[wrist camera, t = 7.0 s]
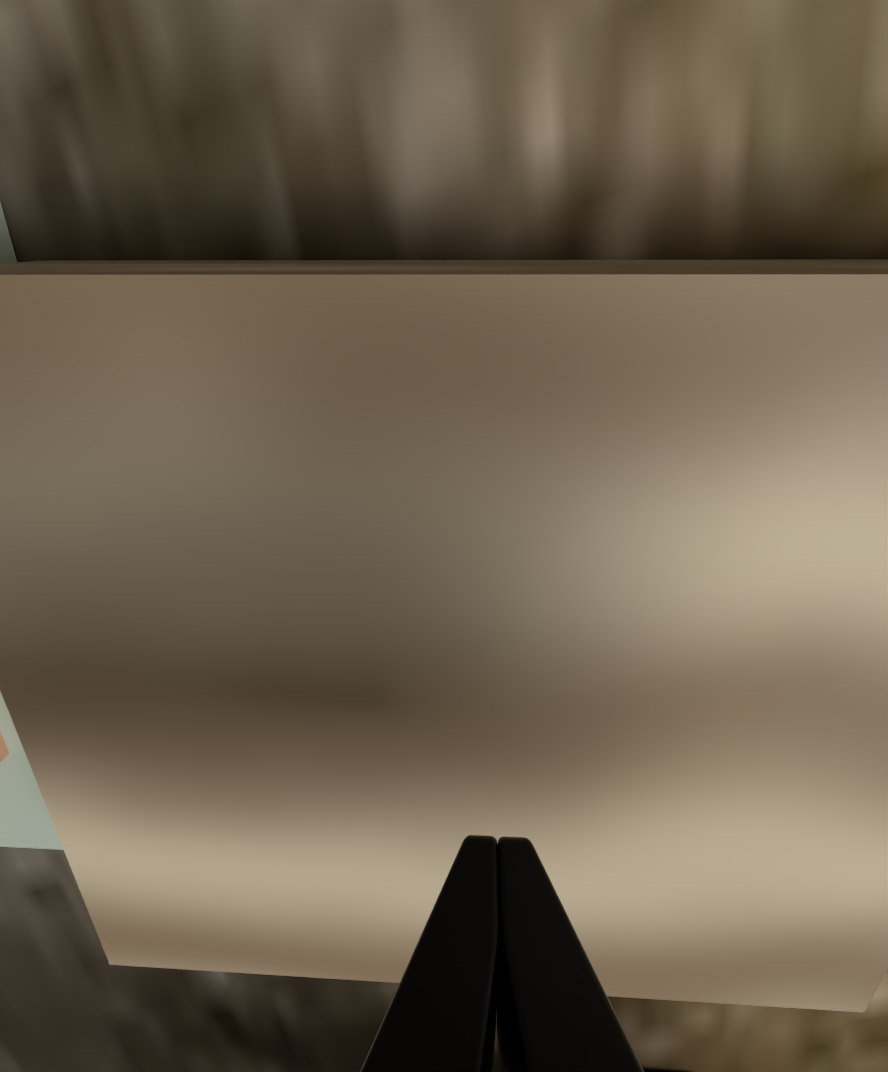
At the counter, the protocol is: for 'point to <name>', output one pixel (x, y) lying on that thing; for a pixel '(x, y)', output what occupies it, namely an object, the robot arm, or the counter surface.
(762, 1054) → the counter surface
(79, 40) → the counter surface
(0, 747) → the tile
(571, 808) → the board
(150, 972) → the counter surface
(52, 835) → the mat
